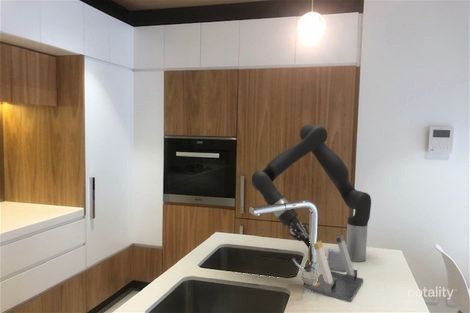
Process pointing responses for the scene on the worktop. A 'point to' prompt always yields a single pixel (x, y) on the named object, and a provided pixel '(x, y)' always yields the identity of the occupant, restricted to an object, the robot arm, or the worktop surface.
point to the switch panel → (339, 286)
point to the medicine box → (335, 260)
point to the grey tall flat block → (345, 255)
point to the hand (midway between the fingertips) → (311, 246)
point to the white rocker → (323, 263)
